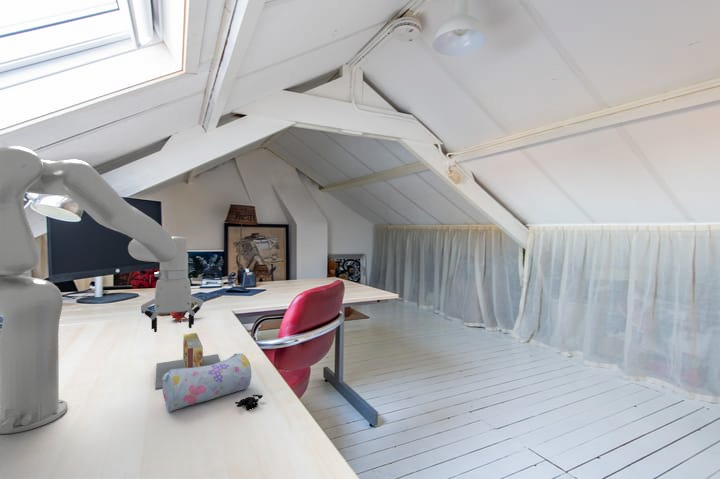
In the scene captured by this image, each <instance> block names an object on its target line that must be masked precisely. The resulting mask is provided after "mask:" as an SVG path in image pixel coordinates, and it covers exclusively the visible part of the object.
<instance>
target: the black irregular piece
mask: <svg viewBox="0 0 720 479" xmlns="http://www.w3.org/2000/svg"><path fill="white" fill-rule="evenodd" d="M262 398H263V394H253V395H252V396H247V397H245V398H242V399H240V401H235V402H234V404H235V405H236V407H237V408H241V407H245V410H246V411H250V409H251V410H253V409H255V407H256V408H257V407H258V405H259V400H260V399H262ZM252 408H253V409H252Z"/></svg>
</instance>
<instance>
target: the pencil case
mask: <svg viewBox="0 0 720 479" xmlns="http://www.w3.org/2000/svg"><path fill="white" fill-rule="evenodd" d="M220 361H221V362H218V363H216V364H213V365H208V366H202V367H194V368H180V369H171V370H170V371H169V372H167V373H165V374H164V376H163V378H162V380H163V382H162V388H161V389H162V395H163V400H164V403H165V404H164V405H165V406H166V408H167V411H168V412H173V411H176V410H179V409H183V408H185V407H187V406H190V405H196V404H199V403H204V402H207V401H210V400H213V399H216V398H221V397H222V396H225V395H230V394H233V393H237V392H240V391H242V390H245V389H248V388H249V386H250V385H251V379H252V366H251V363H250V360H249V358H248V357H247V356H246V355H245V353H243V352H242V353H241V352H240V353H239V352H238V353H234V354H233V355H231V356H230V357H229V358H227V359H223V360H220Z"/></svg>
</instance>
